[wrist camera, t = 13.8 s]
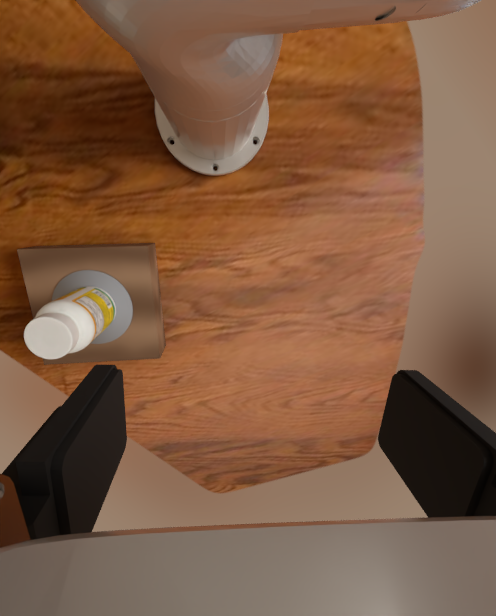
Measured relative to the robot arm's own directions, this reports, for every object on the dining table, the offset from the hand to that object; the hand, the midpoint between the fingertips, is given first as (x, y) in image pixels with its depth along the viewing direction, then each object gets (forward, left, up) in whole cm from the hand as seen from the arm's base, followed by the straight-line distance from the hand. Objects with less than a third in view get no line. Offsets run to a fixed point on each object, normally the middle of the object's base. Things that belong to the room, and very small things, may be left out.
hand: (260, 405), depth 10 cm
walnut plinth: (+4, -16, -31) cm, 35 cm away
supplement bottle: (+4, -16, -26) cm, 31 cm away
